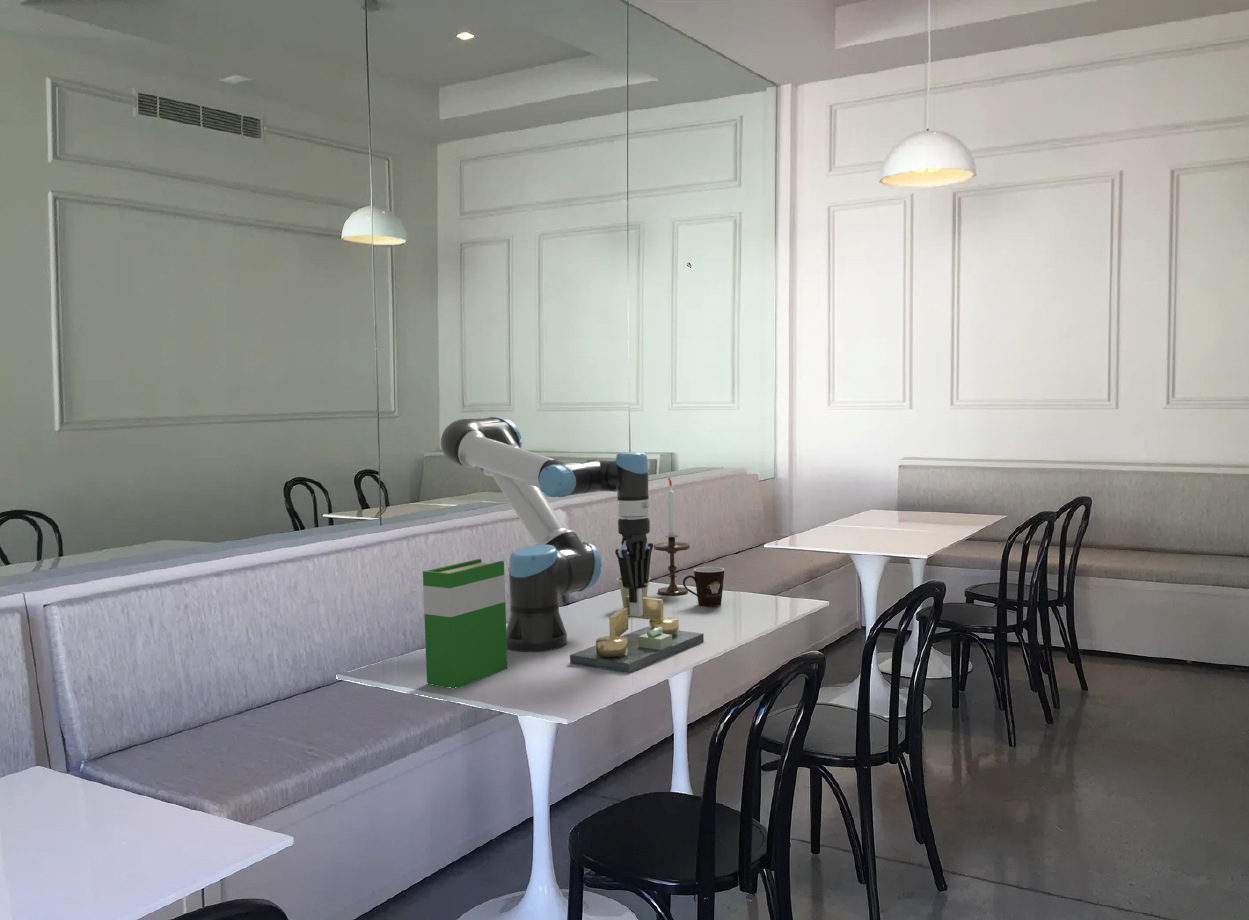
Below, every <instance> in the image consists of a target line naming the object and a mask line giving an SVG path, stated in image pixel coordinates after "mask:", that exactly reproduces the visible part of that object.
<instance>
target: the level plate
mask: <svg viewBox="0 0 1249 920" xmlns="http://www.w3.org/2000/svg"><path fill="white" fill-rule="evenodd" d="M662 633H663V628H662V627H658V628H655V629H652V630H650V626H646V627H643V628H640V629H637V630H635V631H632V632H629V633H626V634H624V635H623V634H622V635H621V636H622V637H625V638H627V645H628V653H627V654H625V655H622V656H616V657H605V656H599V655H597V654H596V645H592V646H590V647H587V648H584V649H583V650H579V651H577V652H574V653H571V654H569V664H571V665H576V666H583V667H590V668H596V669H602V670H610V671H616V672H623V673H629V674H630V673H632V672H634V671H637V670H640V669H641V668H642V669H643V668H644V667H646V666H649V665H652V664H653V663H656V662H658V661H661V660H663V659H665V658H668V657H670V656H673V655H675V654H677V653H680V652H682V651H685V650H687V649H689V648H692V647H695V646H698V645H699V644H702V643H704V641H705V640H704V639H705V638H704V637H705V636H704V633H702V632H695V631H687V630H679V633H678V634H677V635H673V636H672V635H669V634H662Z"/></svg>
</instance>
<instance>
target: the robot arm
mask: <svg viewBox="0 0 1249 920" xmlns="http://www.w3.org/2000/svg"><path fill="white" fill-rule="evenodd" d="M521 439H522V435H521V431H520V430H519V428H518V426H516V424H515V423H513V422H512V421H511V420H510V419H507V418H504V417H496V416H489V417H485V418H462V419H461V418H459V419H457V420H455V421H452V422H451V423H450V424H448V425H447V426H446V427H445V428H444V430H443V432H442V434H441V438H440V448H441V451H442V453H443V455H444V456H445V458H446V459H447V460H449V461H450V462H452V463H453V464H456V465H458V466H461V467H464V468H468V469H471V468H476V467H478V468H480V470H481V471H482V473H483V474H484V475H485V476H486V477H492V478H493V479H494V481H495V483H496V484H497V486H498V487H499V489H500V490H501V492H502V494H503V495H504V496H505V499H507V502H508V503H509V505H510V506H511V508H512V509H513V511H514V512H515V514H516V515H517V517H518V518H519V520H520V522H521V523H522V525H523V526H524V529H525V530H526V531H527V534H529V536H530V537H531V539H532V541H533V542H534V545H528V546H524V547H521V548H517V549H516V550H514V551H513V552H512V553H511V554H510V555H509V559H508V561H509V563H508V565H509V566H508V578H509V579H508V580H509V582H508V583H509V584H508V585H509V600H510V603H509V604H510V605H509V606H510V613H509V614H510V615H509V619H508V621H507V624H506V637H507V650H508V649H509V650H510V651H511V650H513V651H520V652H542V651H550V650H555V649H559V648H562V647H564V646H566V645H567V644H568V634H567V633H568V632H567V631H566V628H565V627H566V626H564V625H565V624H564V622H563V619H562V617H561V614H560V607H559V605H560V603H559V601H560V600H559V599H560V598H559V597H560V596H563V595H569V594H572V593H577V592H582V591H585V590H586V589H589V588H591V587H593V586H595V584H596V583H597V582H598V580H599V579H600V576H601V573H602V566H603V565H602V557H601V555H600V552H599V550H598V549H597V547H596V546H594V545H593V544H592V543H589V542H586V541H583V542H582V541H581V539H580V537H579V536H578V534H577V533H576V532H575V531H574V530H572V529H571V530H570V529H567V528H566V527H565V525H564V523H563V522H562V521H561V519H560V518H559V516H558V515H557V513H556V512H555V510H554V509H553V506H552V505H551V504H550V502H549V501H548V499H547V498H546V496H547V497H550V498H566V497H570V496H577V495H583V494H590V493H596V492H597V493H598V492H613V493H614V492H615V493H616V494H617V496H616V497H617V500H616V501H617V502H616V503H617V505H616V506H617V516H618V517H619V518H618V519H617V528H618V529H617V531H618V534H619V535H621V536H622V538H621V542H620V543H621V546H620V547H619V548H616V549H615V551H614V553H615V555H616V558H617V561H618V566H619V572H620V577H621V578H622V584H623V587H625V588H627V589H629V601H630V615H631V616H642V615H643V588H646V587H647V585H644V584H647V583H648V579H649V577H650V567H651V557H652V551H653V550H654V543H652V542H649V541H648V537H647V534H649V533H650V531H651V527H650V526H651V523H650V522H651V521H650V518H649V517H648V516H649V515H650V504H649V503H650V500H649V499H650V498H649V497H650V495H649V472H650V471H649V464H648V462H649V461H648V456H647V454H646V453H645V452H643V451H642V452H641V451H632V452H631V451H629V452H628V451H626V452H619V453H617V454H616V456H615V457H616V459H615V460H597V459H585V460H580V461H579V462H570V463H569V462H564V461H560V460H557V459H554V458H552V457H548V456H545V455H542V454H539V453H536V452H534V451H533V452H532V451H529V450H526V449H523V448H522V445H523V443H522V441H521ZM545 495H546V496H545Z"/></svg>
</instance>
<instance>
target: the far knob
mask: <svg viewBox="0 0 1249 920" xmlns="http://www.w3.org/2000/svg"><path fill="white" fill-rule="evenodd" d="M626 608H628V618H632V619H633V618H634V619H643V620H649V623H648V624H649V626H648V627H650V630H652V629H655V628H658V627H662V628H663V633H662V634H669V635H672V636H673V635H677V634H678V633H679V631H680V629H679V622H680V621H679V619H678V618H675V617H667V616H665V617H664V599H662V598H656V597H655V598H654V597H647V598H645V597H643V615H642V616H631V615H630V601H629V596H626Z"/></svg>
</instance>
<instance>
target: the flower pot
mask: <svg viewBox="0 0 1249 920" xmlns="http://www.w3.org/2000/svg"><path fill="white" fill-rule="evenodd" d="M616 580H617V582H618V586H619V588H620V590H619V591H620V593H621V594H620V595H621V600H622V608H626V596H629V589H627V588H625V587H623V584H622V578H621V576H620V577H617V578H616ZM650 580H651V577H650V576H649V579H648V583H647V584H644V585H647V587H646V588H643V597H645V598H648V589H649V584H650Z"/></svg>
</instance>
